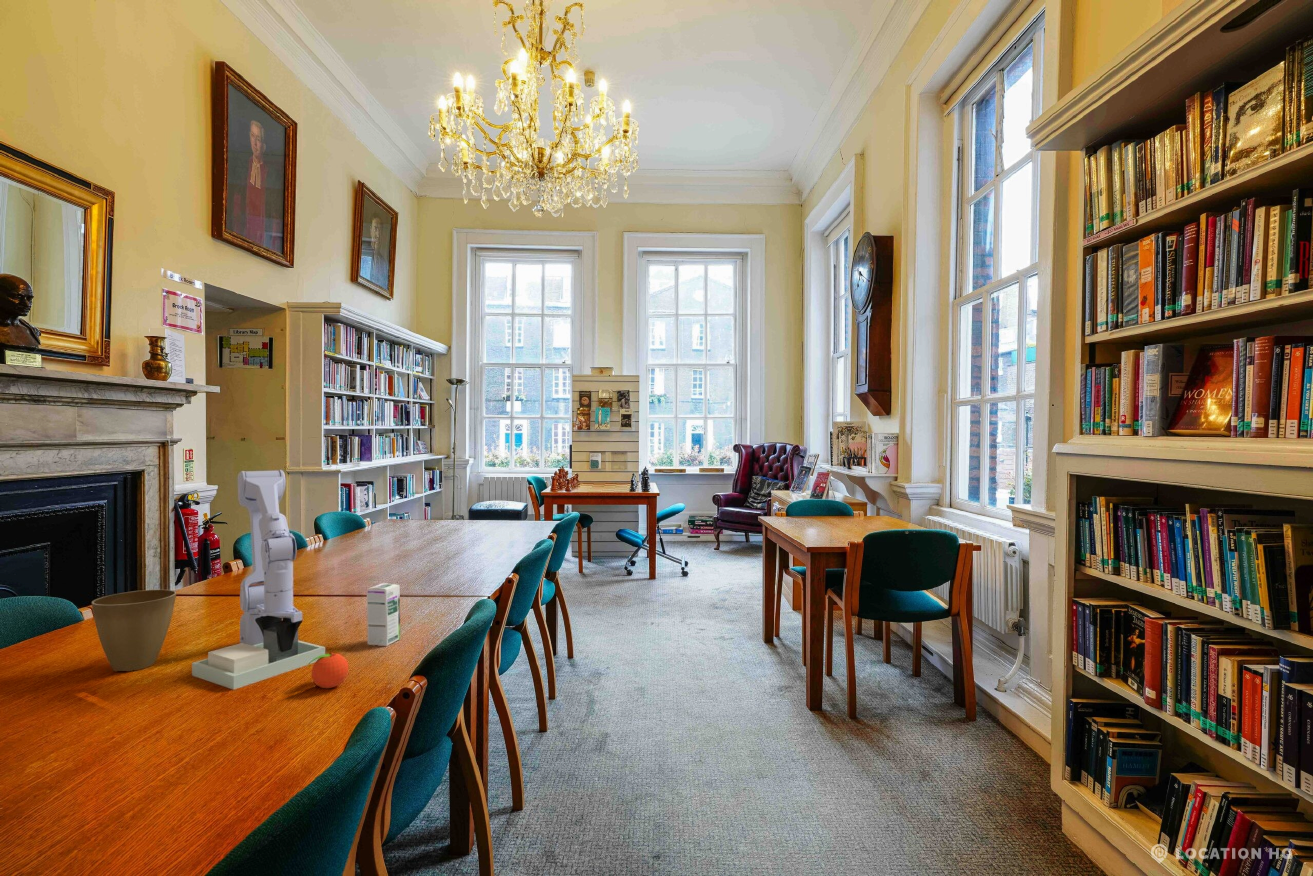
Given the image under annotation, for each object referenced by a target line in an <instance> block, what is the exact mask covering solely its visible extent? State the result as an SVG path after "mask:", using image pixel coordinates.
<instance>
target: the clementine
mask: <svg viewBox="0 0 1313 876" xmlns="http://www.w3.org/2000/svg"><path fill="white" fill-rule="evenodd" d="M318 658H319V659H318ZM316 659H318V660H317V661H316V662H315V663H313V666H312V669H311V672H310V673H311V678H312V680H313V683H314V684H315V685H317V686H318V687H320V688H321V689H332V688H334V687H338V686H339V685H341V683H343V682H344V680H345V679H346V678H347V676H348V674H349V663H348V661H347V659H346V657H344V656H343V655H341V654H340V653H337V652H335V653H334V652H331V653H325V655H321V656H318V657H316V658H315V659H313V660H312V661H314V660H316ZM312 661H311V662H312ZM311 662H310V663H311ZM310 663H309V664H308V665H307V666H309V665H311V664H310Z"/></svg>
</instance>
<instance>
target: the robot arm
mask: <svg viewBox="0 0 1313 876" xmlns="http://www.w3.org/2000/svg"><path fill="white" fill-rule="evenodd" d="M286 483H287V482H286V474H285V472H284V470H282V469H278V470H253V471H252V470H251V471H249V470H247V471H244V470H241V471H240V472H238V475H237V499H238V502H239V505H240V506H241V507H245V508H247V511H248V516H249V522H250V523H249V525H250V541H251V543H250V544H251V560H252V561H251V562H252V572H251V573H250V574H248V575H246V577H244V579H242V581H241V583H240V591H239V605H240V609H241V611H243V614H242V615H241V616H240V619H239V643H245V644H249V645H252V646H253V645H256V644H260V643H263V640H264V629H268V628H272V627H275V628H276V630H277V633H278V637H279V645H280V650H281V652H284V651H288V650H291V649H292V645H293V641H294V638H295V635H296V632H297V630H298V631H299V627H300V626H301V624H302V623H303V611H301V610H298V608H296V607H295V606H294V561H296V558H297V550H298V549H297V542H296V537H295V536H294V535H293V533H292V532H291V533H290V529H289V524H288V520H287V517H286V515H284V514H283V513H280V505H279V504H280V503H281V501H282V499H283V495H284V493H285V490H286Z"/></svg>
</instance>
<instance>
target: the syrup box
mask: <svg viewBox="0 0 1313 876" xmlns="http://www.w3.org/2000/svg"><path fill="white" fill-rule="evenodd" d="M400 591H401V588H400V583H393V582H391V583H390V582H388V583H386V582H384V583H383V582H382V583H379V584H377V585H373V586H371V587H368V588H367V589H366V623H367V624H366V627H367V629H366V630H367V645H368V646H369V645H370V646H375V645H378V646H377V647H388V646H390V645H391V644H393V643H395V642H397V641H400V640H401V639H402V638H401V596H400V595H401V592H400Z"/></svg>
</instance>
